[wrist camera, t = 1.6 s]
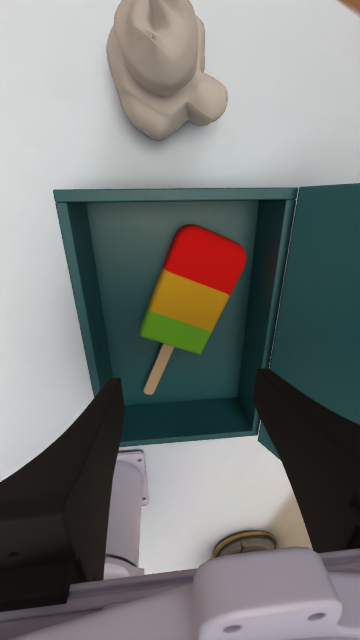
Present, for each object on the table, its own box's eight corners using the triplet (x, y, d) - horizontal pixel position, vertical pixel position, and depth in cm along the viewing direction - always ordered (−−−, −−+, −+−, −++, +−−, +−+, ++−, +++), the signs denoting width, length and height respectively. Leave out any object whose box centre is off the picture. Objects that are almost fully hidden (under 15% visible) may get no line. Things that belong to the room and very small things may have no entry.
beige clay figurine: (133, 4, 14) (109, -215, 7) (233, 79, 16) (302, -30, 8) (99, 114, 16) (51, 36, 8) (192, 170, 17) (219, 146, 10)
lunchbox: (112, 406, 25) (103, 448, 21) (77, 193, 17) (52, 189, 13) (241, 397, 26) (258, 435, 22) (264, 191, 18) (298, 187, 14)
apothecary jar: (192, 561, 40) (218, 810, 23) (236, 518, 36) (304, 783, 19) (252, 572, 43) (312, 796, 27) (298, 534, 39) (401, 770, 23)
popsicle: (246, 246, 19) (255, 250, 18) (174, 393, 25) (176, 407, 23) (180, 217, 18) (182, 218, 16) (119, 379, 23) (116, 393, 22)
